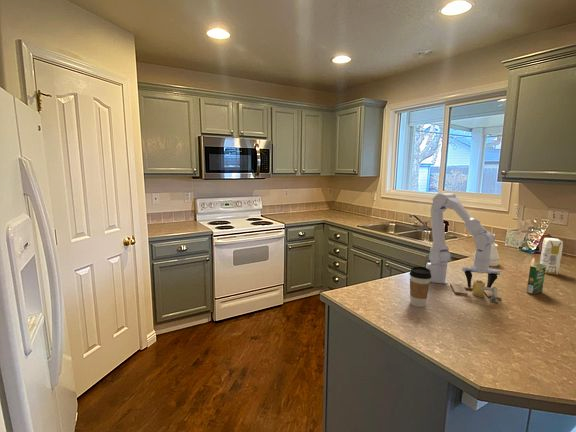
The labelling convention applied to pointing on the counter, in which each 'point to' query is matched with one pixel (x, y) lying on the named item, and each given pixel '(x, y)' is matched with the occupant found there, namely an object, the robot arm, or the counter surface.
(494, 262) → the honey pot
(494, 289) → the hook arm
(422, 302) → the coffee cup
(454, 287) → the brown u-shaped board
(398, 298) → the counter surface
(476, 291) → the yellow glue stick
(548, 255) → the juice carton
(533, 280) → the coffee box
